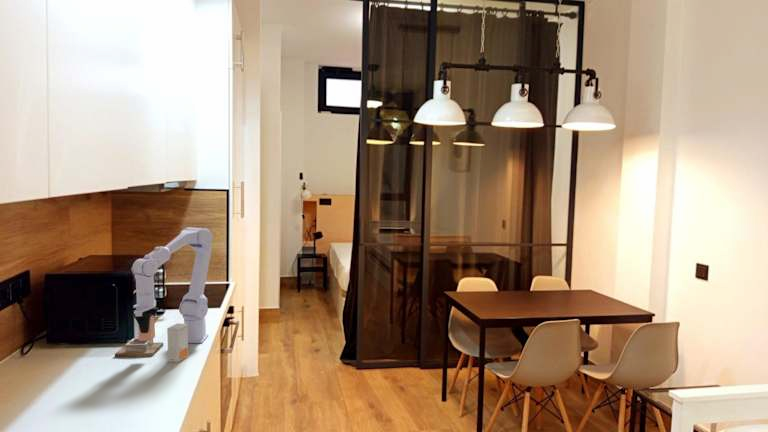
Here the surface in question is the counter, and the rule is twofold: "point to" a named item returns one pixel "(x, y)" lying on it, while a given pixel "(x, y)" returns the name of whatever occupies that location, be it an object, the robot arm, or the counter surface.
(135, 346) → the socket board
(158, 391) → the counter surface
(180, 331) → the skincare box
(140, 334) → the peg
